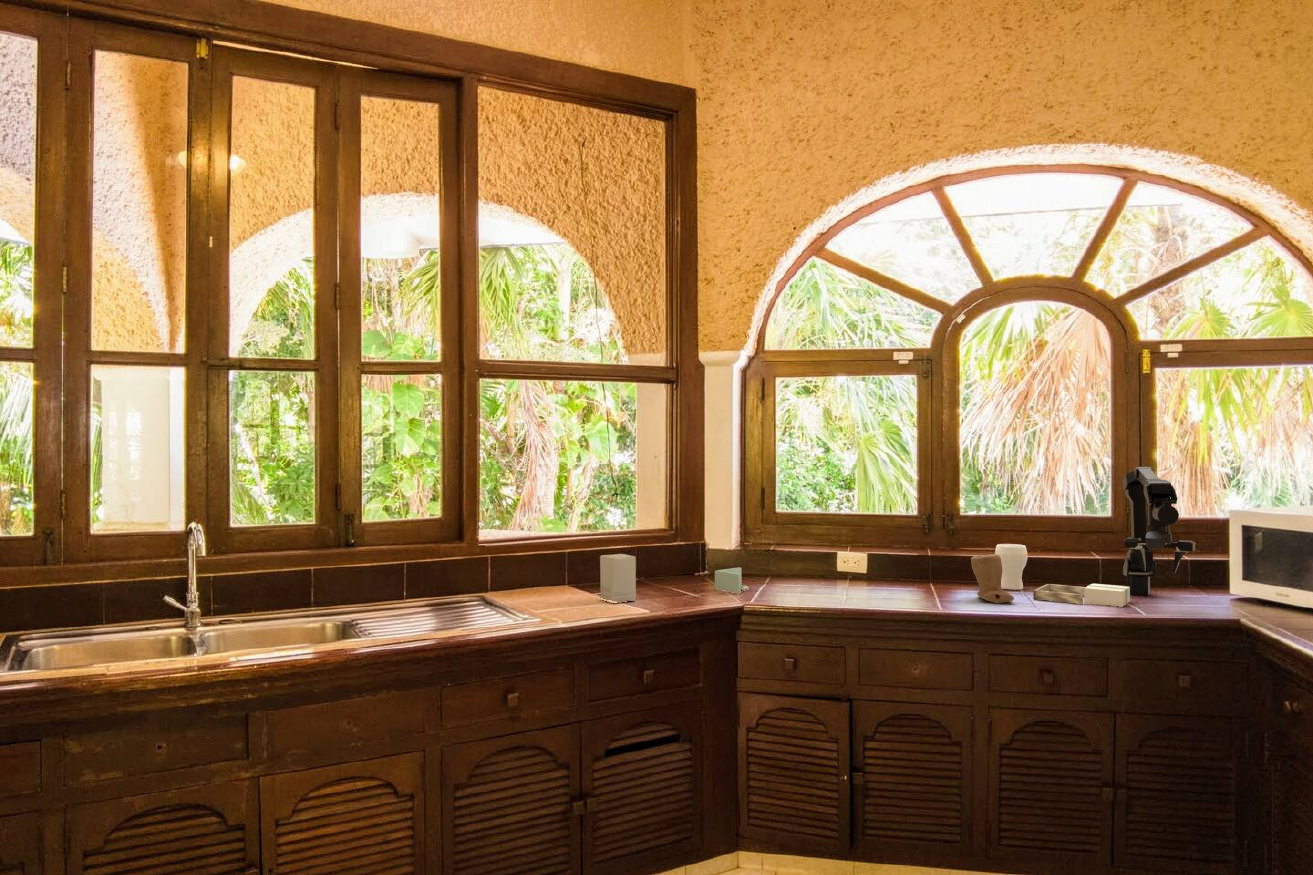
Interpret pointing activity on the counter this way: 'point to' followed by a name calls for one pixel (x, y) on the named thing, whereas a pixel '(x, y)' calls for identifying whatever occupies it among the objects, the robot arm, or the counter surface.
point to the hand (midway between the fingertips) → (1159, 572)
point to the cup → (1012, 564)
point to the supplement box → (618, 577)
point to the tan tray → (1059, 593)
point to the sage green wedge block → (729, 580)
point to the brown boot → (990, 578)
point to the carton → (1107, 594)
